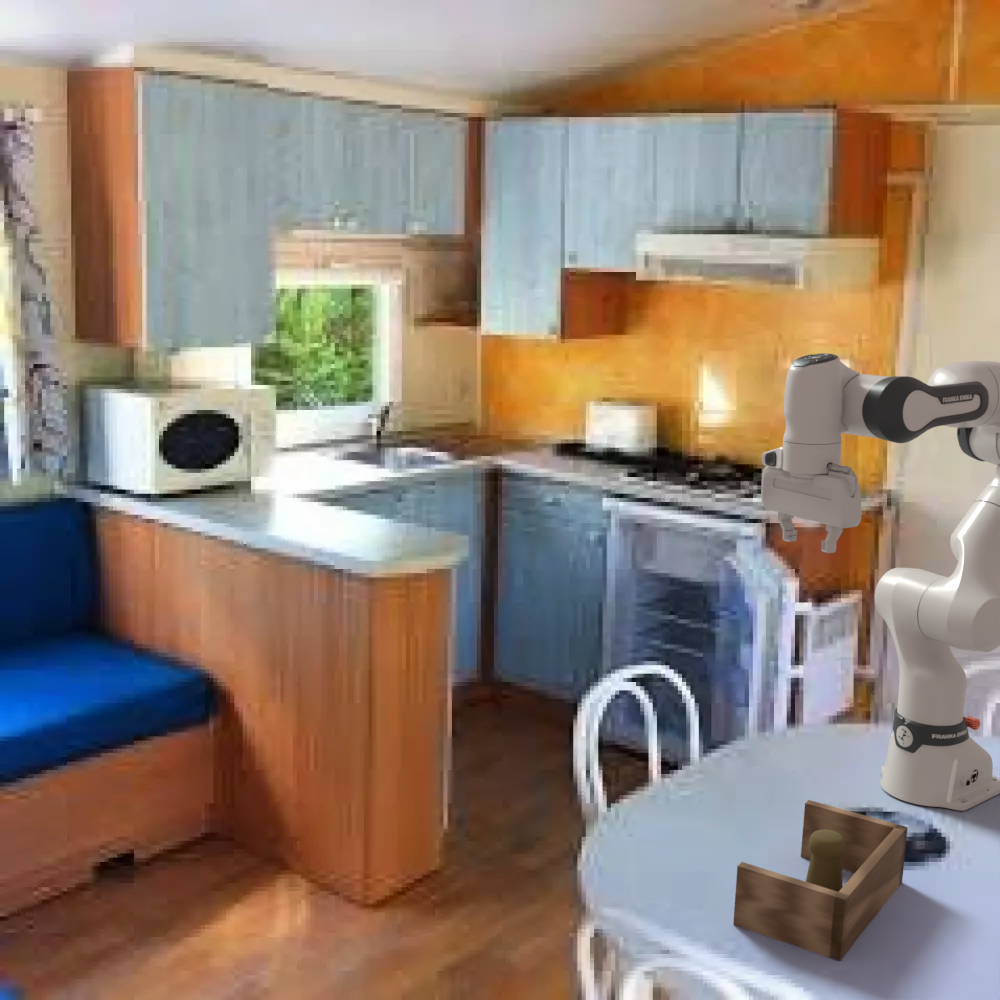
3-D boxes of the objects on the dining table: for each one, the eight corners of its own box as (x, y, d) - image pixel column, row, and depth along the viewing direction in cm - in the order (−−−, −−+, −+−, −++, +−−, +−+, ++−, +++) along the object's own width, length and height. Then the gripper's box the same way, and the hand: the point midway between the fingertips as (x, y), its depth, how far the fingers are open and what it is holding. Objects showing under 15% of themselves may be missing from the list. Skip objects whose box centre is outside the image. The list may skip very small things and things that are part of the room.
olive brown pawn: (844, 916, 184) (851, 845, 182) (801, 911, 186) (807, 840, 183) (842, 895, 190) (848, 826, 188) (800, 890, 191) (806, 822, 189)
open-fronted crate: (733, 924, 181) (737, 865, 180) (804, 852, 203) (808, 799, 201) (840, 961, 173) (845, 899, 171) (902, 882, 195) (907, 827, 193)
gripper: (873, 466, 192) (869, 557, 194) (786, 450, 210) (784, 533, 213) (840, 469, 189) (836, 561, 192) (755, 453, 207) (753, 537, 210)
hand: (808, 546), depth 202 cm, fingers open, 8 cm apart
